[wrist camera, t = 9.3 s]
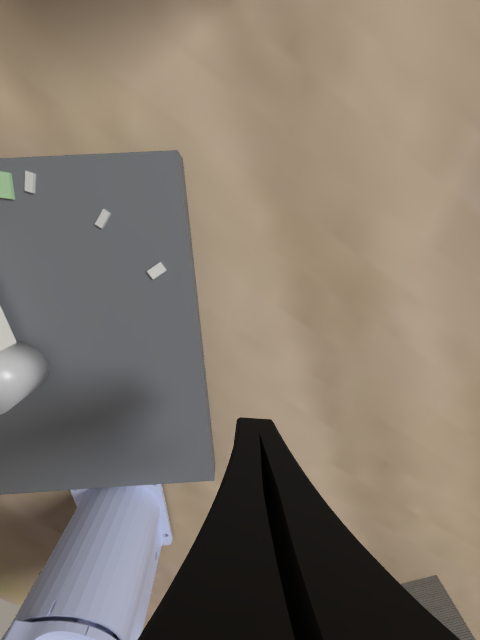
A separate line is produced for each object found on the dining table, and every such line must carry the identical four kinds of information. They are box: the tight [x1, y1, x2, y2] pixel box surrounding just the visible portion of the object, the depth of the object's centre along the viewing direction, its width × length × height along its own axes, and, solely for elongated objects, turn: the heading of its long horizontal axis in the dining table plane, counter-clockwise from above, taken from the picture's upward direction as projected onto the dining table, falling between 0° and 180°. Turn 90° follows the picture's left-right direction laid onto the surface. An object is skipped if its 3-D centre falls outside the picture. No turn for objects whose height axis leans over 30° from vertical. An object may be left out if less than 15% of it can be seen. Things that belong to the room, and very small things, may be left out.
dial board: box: [0, 150, 215, 495], centre depth 18 cm, size 24×24×2 cm
